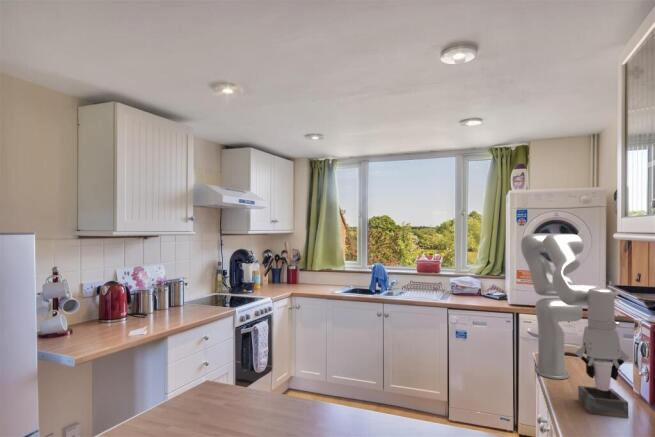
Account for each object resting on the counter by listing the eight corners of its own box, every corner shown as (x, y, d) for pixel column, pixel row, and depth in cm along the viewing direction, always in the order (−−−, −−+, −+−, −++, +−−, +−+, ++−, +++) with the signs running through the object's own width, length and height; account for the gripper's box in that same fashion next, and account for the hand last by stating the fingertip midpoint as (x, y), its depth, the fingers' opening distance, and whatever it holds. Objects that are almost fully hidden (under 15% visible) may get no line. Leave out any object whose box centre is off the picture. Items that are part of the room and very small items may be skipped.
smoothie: (618, 393, 125) (617, 350, 126) (596, 391, 127) (595, 349, 127) (607, 385, 132) (607, 345, 132) (587, 384, 133) (586, 343, 133)
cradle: (578, 399, 136) (578, 385, 136) (612, 403, 133) (612, 388, 133) (591, 414, 125) (591, 398, 125) (628, 418, 123) (628, 402, 123)
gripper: (624, 323, 131) (625, 375, 131) (568, 320, 136) (569, 371, 135) (636, 329, 124) (637, 384, 124) (577, 325, 128) (577, 379, 128)
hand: (602, 377), depth 129 cm, fingers closed on smoothie, 6 cm apart
